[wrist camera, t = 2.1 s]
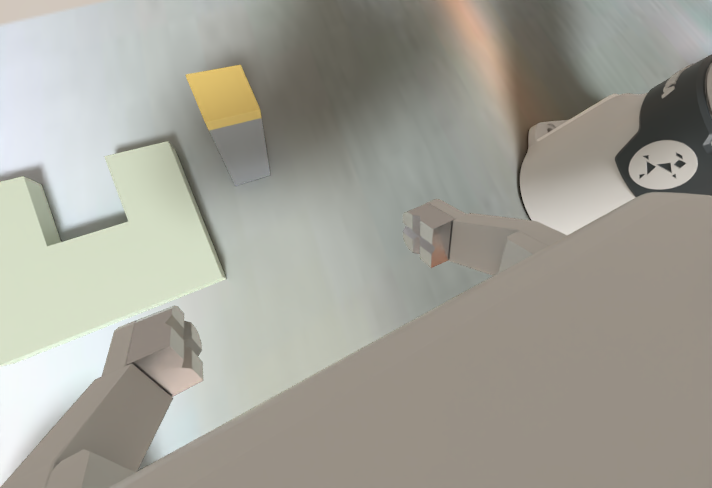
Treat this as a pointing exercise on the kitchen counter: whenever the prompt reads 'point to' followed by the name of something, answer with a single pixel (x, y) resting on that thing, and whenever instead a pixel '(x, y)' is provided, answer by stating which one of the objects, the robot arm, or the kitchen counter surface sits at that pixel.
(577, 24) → the kitchen counter surface
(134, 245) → the notched board
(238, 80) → the grey and yellow block
